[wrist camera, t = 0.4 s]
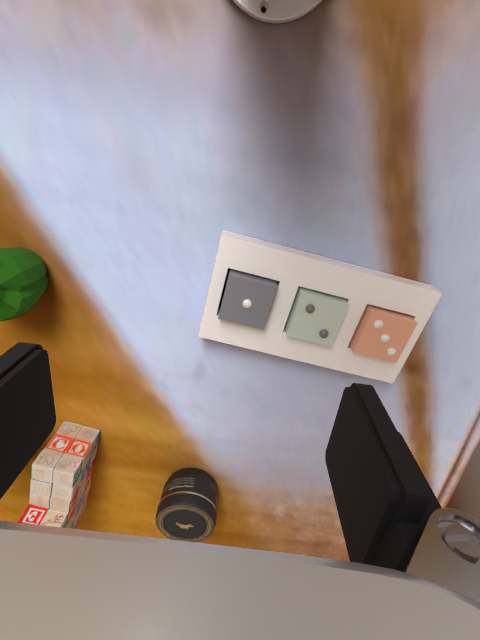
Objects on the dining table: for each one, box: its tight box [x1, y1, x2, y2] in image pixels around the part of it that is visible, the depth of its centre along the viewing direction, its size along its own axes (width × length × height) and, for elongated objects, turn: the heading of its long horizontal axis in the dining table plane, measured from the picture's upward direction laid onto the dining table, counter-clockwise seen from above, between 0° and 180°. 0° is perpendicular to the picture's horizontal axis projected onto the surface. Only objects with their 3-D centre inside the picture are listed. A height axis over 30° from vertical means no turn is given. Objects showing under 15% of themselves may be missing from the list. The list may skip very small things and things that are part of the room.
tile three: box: [349, 304, 418, 363], centre depth 45 cm, size 6×6×3 cm
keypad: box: [198, 230, 443, 384], centre depth 46 cm, size 14×28×3 cm, turn 75°
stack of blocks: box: [18, 421, 100, 529], centre depth 57 cm, size 21×6×12 cm, turn 162°
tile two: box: [285, 286, 349, 347], centre depth 44 cm, size 6×6×3 cm
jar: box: [156, 468, 218, 542], centre depth 59 cm, size 10×10×8 cm
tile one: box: [218, 268, 278, 330], centre depth 43 cm, size 6×6×3 cm
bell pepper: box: [0, 248, 48, 321], centre depth 42 cm, size 8×8×10 cm
